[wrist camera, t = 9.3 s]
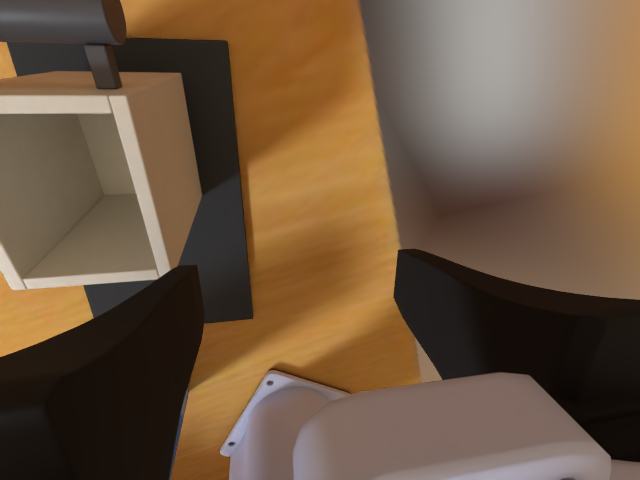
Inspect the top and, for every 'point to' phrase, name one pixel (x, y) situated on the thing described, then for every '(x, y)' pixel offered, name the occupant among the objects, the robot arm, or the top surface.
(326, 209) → the top surface
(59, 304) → the top surface
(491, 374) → the robot arm
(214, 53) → the mat
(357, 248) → the top surface
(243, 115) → the top surface
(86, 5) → the white case
